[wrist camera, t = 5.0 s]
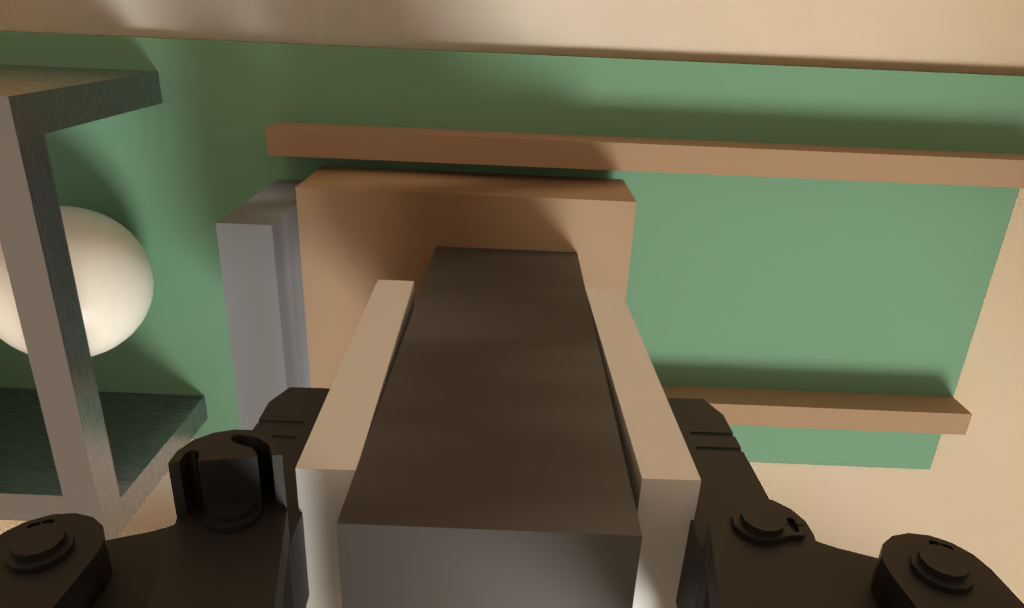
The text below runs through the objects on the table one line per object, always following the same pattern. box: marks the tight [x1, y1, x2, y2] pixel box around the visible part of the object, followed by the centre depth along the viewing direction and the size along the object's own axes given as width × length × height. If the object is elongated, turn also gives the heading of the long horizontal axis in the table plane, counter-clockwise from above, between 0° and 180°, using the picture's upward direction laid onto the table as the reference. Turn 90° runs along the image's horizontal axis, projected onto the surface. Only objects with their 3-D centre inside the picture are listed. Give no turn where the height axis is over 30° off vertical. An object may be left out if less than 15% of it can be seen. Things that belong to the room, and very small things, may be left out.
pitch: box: [0, 31, 1024, 469], centre depth 20 cm, size 32×12×1 cm, turn 88°
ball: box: [0, 206, 154, 357], centre depth 18 cm, size 4×4×4 cm
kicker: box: [215, 166, 642, 608], centre depth 14 cm, size 9×6×12 cm, turn 88°
